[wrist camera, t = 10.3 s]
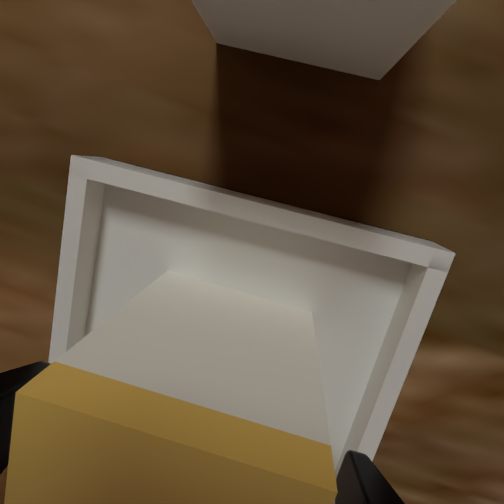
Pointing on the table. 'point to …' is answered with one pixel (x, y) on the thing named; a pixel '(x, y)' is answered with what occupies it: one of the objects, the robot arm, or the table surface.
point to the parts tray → (254, 277)
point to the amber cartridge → (178, 407)
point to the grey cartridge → (324, 29)
